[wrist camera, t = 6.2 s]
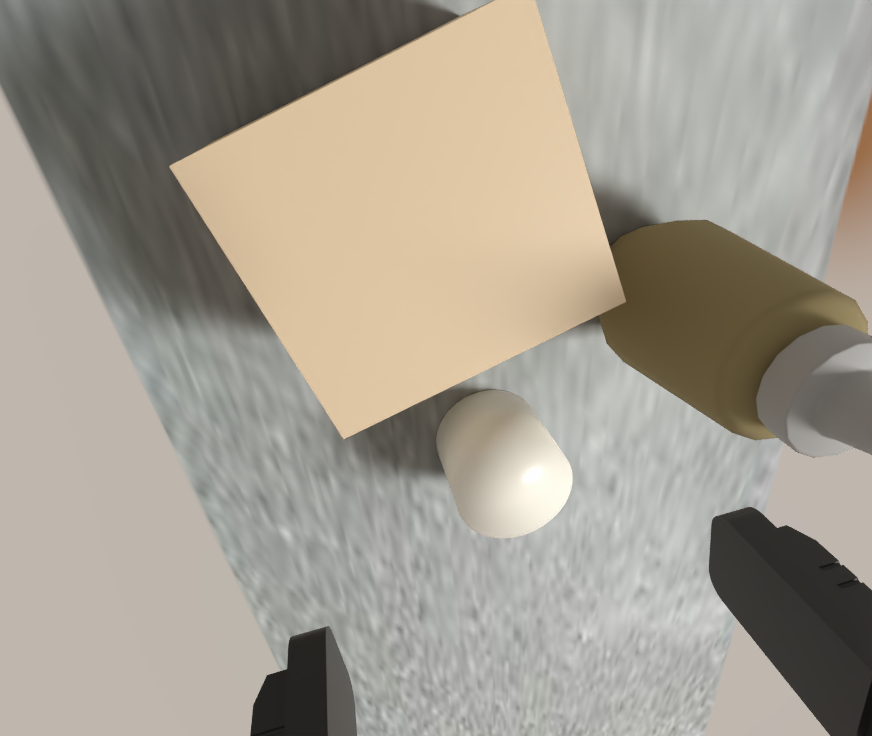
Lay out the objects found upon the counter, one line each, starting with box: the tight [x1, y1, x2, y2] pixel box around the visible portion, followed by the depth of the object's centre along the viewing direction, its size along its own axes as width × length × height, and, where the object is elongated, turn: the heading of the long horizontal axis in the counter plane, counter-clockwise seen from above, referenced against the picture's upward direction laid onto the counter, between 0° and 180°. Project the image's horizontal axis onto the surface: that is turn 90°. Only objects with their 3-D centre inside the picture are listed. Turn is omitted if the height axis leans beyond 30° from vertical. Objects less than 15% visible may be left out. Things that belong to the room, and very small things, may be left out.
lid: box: [169, 0, 626, 439], centre depth 20 cm, size 11×12×1 cm
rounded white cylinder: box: [436, 390, 573, 538], centre depth 33 cm, size 6×6×6 cm
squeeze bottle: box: [599, 220, 872, 458], centre depth 24 cm, size 8×8×18 cm
